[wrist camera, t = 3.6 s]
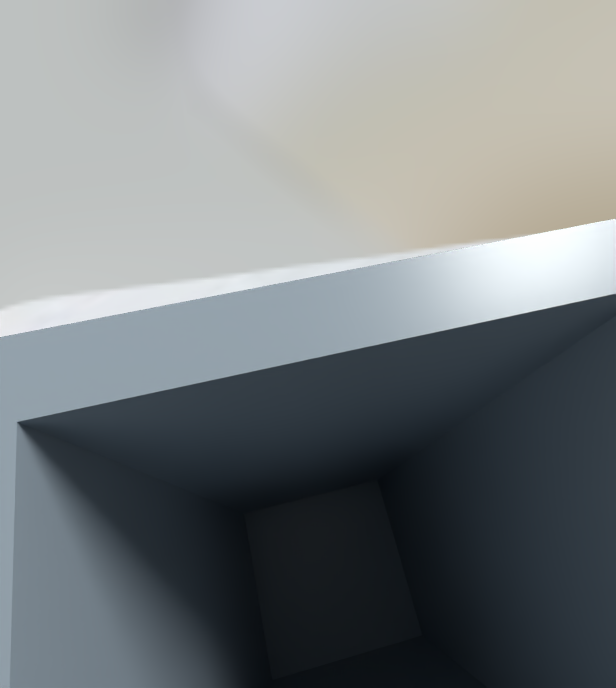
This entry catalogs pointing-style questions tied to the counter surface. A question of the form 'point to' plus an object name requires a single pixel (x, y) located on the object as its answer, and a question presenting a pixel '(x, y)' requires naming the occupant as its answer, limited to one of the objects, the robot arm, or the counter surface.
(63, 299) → the counter surface
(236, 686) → the sleeve
